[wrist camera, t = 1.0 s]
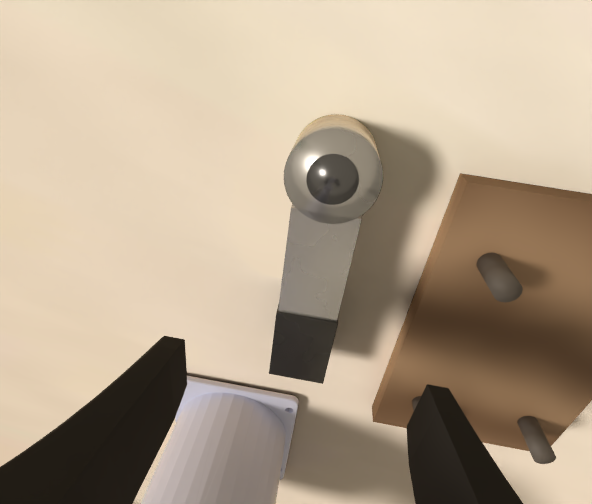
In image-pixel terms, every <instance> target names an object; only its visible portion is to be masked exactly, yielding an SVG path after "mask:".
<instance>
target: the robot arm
mask: <svg viewBox="0 0 592 504" xmlns="http://www.w3.org/2000/svg"><path fill="white" fill-rule="evenodd" d="M298 404H299V400H298V398H297V397H295V396H293V395H288V394H283V393H277V392H272V391H267V390H261V389H256V388H251V387H245V386H240V385H235V384H229V383H224V382H219V381H213V380H208V379H203V378H197V377H192V376H187V371H186V355H185V340H184V339H179V338H173V337H168V336H164V337H162V338H161V339H160V340H159V341H158V342H157V343H156V344H155V345H154V346H152V347H151V348H150V349H149V350H148V351H147V352H146V353H145V354H144V355H143V356H142V357H141V358H140V359H139V360H137V361H136V362H135V363H134V364H133V365H132V366H131V367H130V368H129V369H128V370H126V371H125V372H124V373H123V374H122V375H121V376H120V377H118V378H117V379H116V380H115V381H114V382H113V383H111V384H110V385H109V386H108V387H107V388H106V389H105V390H103V391H102V392H101V393H100V394H99V395H97V396H96V397H95V398H94V399H93V400H91V401H90V402H89V403H88V404H86V405H85V406H84V407H83V408H81V409H80V410H79V411H78V412H76V413H75V414H74V415H72V416H71V417H70V418H69V419H67V420H66V421H65V422H64V423H62V424H61V425H60V426H58V427H57V428H56V429H54V430H53V431H52V432H50V433H49V434H47V435H46V436H45V437H43V438H42V439H41V440H39V441H38V442H36V443H35V444H33V445H32V446H31V447H29V448H28V449H26V450H25V451H24V452H22V453H21V454H19V455H18V456H16V457H15V458H13V459H12V460H10V461H9V462H7V463H6V464H4V465H3V466H1V467H0V504H132V503H133V501H134V499H135V497H136V495H137V493H138V491H139V489H140V487H141V485H142V483H143V481H144V479H145V477H146V475H147V473H148V471H149V469H150V467H151V465H152V463H153V461H154V459H155V457H156V455H157V453H158V451H159V449H160V447H161V445H162V443H163V441H164V439H165V437H166V435H167V433H168V431H169V429H170V427H171V425H172V423H173V421H174V419H175V418H176V424H175V427H174V429H173V431H172V433H171V436H170V438H169V440H168V442H167V445H166V447H165V449H164V451H163V454H162V456H161V458H160V460H159V463H158V465H157V467H156V469H155V472H154V474H153V476H152V478H151V481H150V483H149V485H148V487H147V490H146V492H145V494H144V496H143V498H142V501H141V503H140V504H276V497H277V491H278V484H279V480H281V479H283V478H284V474H285V469H286V464H287V459H288V454H289V449H290V444H291V439H292V434H293V429H294V424H295V419H296V414H297V409H298ZM407 441H408V457H409V467H410V473H411V479H412V485H413V491H414V497H415V503H416V504H523V503H522V501H521V500H520V498H519V497H518V496H517V494H516V493H515V491H514V490H513V488H512V487H511V486H510V484H509V483H508V481H507V480H506V478H505V477H504V475H503V474H502V472H501V471H500V469H499V468H498V466H497V465H496V463H495V462H494V460H493V459H492V457H491V456H490V454H489V453H488V451H487V449H486V448H485V446H484V445H483V443H482V442H481V440H480V438H479V437H478V435H477V434H476V432H475V430H474V429H473V427H472V426H471V424H470V422H469V421H468V419H467V417H466V416H465V414H464V412H463V411H462V409H461V408H460V406H459V404H458V403H457V401H456V399H455V398H454V396H453V394H452V393H451V391H450V390H449V388H445V387H440V386H434V385H429V384H427V385H426V387H425V389H424V392H423V394H422V396H421V398H420V400H419V402H418V404H417V406H416V408H415V410H414V412H413V414H412V416H411V418H410V420H409V422H408V424H407Z"/></svg>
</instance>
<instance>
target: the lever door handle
mask: <svg viewBox="0 0 592 504" xmlns="http://www.w3.org/2000/svg"><path fill="white" fill-rule="evenodd" d="M382 182H383V169H382V165H381V161H380V157H379V153H378V150H377V146H376V143H375V140H374V138H373V136H372V134H371V132H370V131H369V130H368V128H367V127H366V126H365V125H364V124H362V123H361V122H360V121H358V120H356V119H354V118H352V117H349V116H346V115H339V114H334V115H327V116H323V117H320V118H318V119H316V120H314V121H313V122H311V123H310V124H309V125H307V126H306V127H305V128H304V130H303V131H302V132H301V134H300V135H299V137H298V139H297V141H296V143H295V145H294V147H293V149H292V151H291V153H290V155H289V157H288V159H287V162H286V165H285V170H284V185H285V189H286V192H287V195H288V197H289V199H290V201H291V202H292V207H291V213H290V221H289V229H288V237H287V245H286V253H285V261H284V269H283V277H282V284H281V292H280V300H279V305H278V309H277V314H276V322H275V330H274V338H273V346H272V354H271V362H270V370H269V374H274V375H279V376H285V377H290V378H296V379H301V380H306V381H312V382H317V383H323V381H324V377H325V373H326V369H327V365H328V361H329V357H330V353H331V349H332V345H333V341H334V337H335V333H336V329H337V325H338V314H339V310H340V306H341V302H342V298H343V294H344V290H345V286H346V282H347V278H348V273H349V269H350V265H351V261H352V257H353V253H354V249H355V245H356V241H357V237H358V232H359V228H360V224H361V220H362V217H361V215H363V214H364V213H365V212H366V211H368V210H369V209H370V208H371V206H372V205H373V204H374V202H375V201H376V199H377V198H378V196H379V194H380V191H381V188H382Z"/></svg>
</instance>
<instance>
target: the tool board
mask: <svg viewBox="0 0 592 504" xmlns="http://www.w3.org/2000/svg"><path fill="white" fill-rule="evenodd" d="M427 384H429V385H434V386H440V387H445V388H449V390H450V391H451V393H452V394H453V396H454V398H455V399H456V401H457V403H458V404H459V406H460V408H461V409H462V411H463V412H464V414H465V416H466V417H467V419H468V421H469V422H470V424H471V426H472V427H473V429H474V430H475V432H476V434H477V435H478V437H479V438H480V440H481V442H484V443H489V444H494V445H500V446H505V447H510V448H516V449H521V450H526V451H530V453H531V455H532V457H533V459H534V461H535V462H537V463H540V464H547V463H551V462H553V461H554V460H555V459H556V456H555V454H554V452H553V450H552V448H551V445H552V444H553V443H554V442H555V441H556V440H557V439H558V438H559V436H560V435H561V434H562V433H563V432H564V431H565V430H566V428H567V427H568V426H569V425H570V424H571V423H572V422H573V421H574V419H575V418H576V417H577V416H578V415H579V414H580V413H581V412H582V410H583V409H584V408H585V407H586V406H587V405H588V404H589V403H590V401H591V400H592V194H586V193H580V192H574V191H567V190H561V189H555V188H548V187H542V186H536V185H529V184H523V183H517V182H510V181H504V180H497V179H491V178H485V177H478V176H472V175H466V174H460V175H459V178H458V181H457V183H456V186H455V189H454V191H453V194H452V196H451V199H450V202H449V204H448V207H447V210H446V212H445V215H444V218H443V220H442V223H441V226H440V228H439V231H438V234H437V236H436V239H435V241H434V244H433V247H432V249H431V252H430V255H429V257H428V260H427V263H426V265H425V268H424V271H423V273H422V276H421V279H420V281H419V284H418V287H417V289H416V292H415V294H414V297H413V300H412V302H411V305H410V308H409V310H408V313H407V316H406V318H405V321H404V324H403V326H402V329H401V332H400V334H399V337H398V339H397V342H396V345H395V347H394V350H393V353H392V355H391V358H390V361H389V363H388V366H387V369H386V371H385V374H384V377H383V379H382V382H381V385H380V387H379V390H378V392H377V395H376V398H375V400H374V403H373V406H372V413H373V422H378V423H383V424H388V425H393V426H399V427H404V428H407V424H408V422H409V420H410V418H411V416H412V414H413V412H414V410H415V408H416V406H417V404H418V402H419V400H420V398H421V396H422V394H423V392H424V389H425V387H426V385H427Z"/></svg>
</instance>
